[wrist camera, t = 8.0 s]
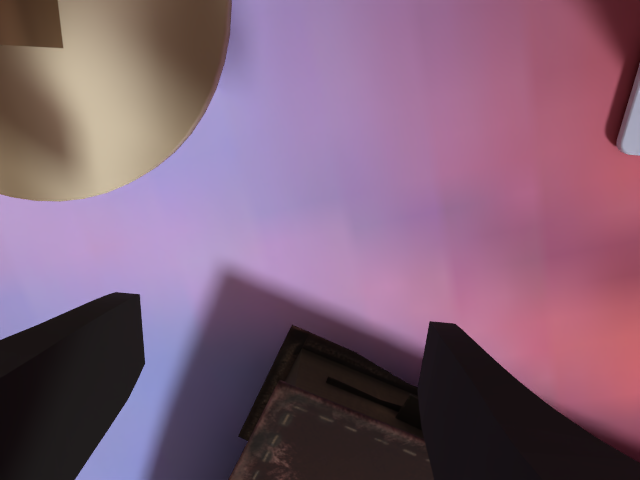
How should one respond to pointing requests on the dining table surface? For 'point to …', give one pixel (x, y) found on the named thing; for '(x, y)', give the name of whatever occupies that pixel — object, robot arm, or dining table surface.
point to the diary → (331, 419)
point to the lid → (102, 89)
